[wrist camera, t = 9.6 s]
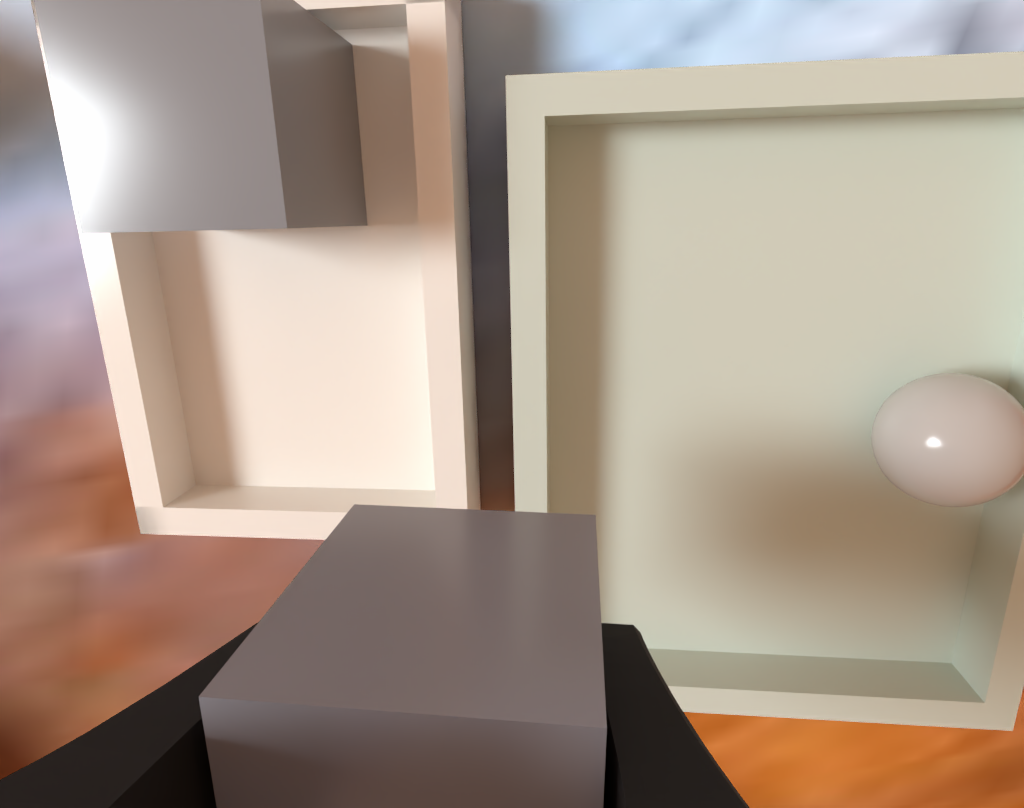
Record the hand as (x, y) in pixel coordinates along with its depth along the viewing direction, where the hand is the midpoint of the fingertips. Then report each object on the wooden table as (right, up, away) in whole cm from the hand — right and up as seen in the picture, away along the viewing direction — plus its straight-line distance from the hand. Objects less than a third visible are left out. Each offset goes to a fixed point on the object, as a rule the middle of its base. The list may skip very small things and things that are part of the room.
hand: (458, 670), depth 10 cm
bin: (+7, +4, +7) cm, 11 cm away
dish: (-5, +7, +7) cm, 11 cm away
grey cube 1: (-5, +10, +6) cm, 13 cm away
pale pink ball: (+11, +4, +6) cm, 13 cm away
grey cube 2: (0, 0, +1) cm, 1 cm away
